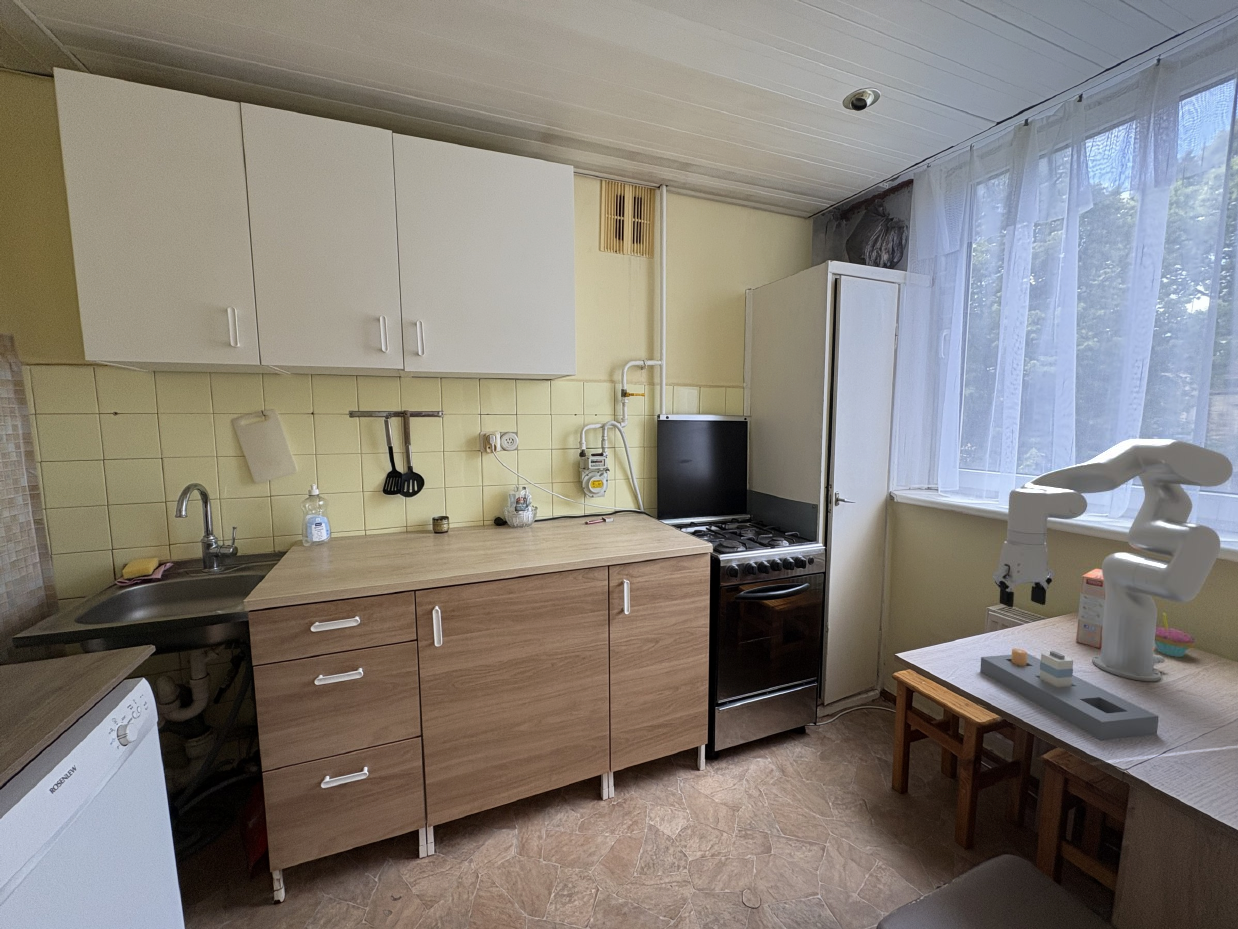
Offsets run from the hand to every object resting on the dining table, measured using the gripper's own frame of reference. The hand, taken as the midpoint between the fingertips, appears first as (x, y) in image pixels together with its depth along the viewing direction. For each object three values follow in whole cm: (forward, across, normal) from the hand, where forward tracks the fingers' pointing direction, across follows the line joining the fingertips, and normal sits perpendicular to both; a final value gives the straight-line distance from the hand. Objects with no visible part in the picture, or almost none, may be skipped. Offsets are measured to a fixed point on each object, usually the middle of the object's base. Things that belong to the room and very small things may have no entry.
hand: (1022, 604), depth 121 cm
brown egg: (+19, 0, 0) cm, 19 cm away
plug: (+20, 0, +9) cm, 22 cm away
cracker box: (+21, -45, -16) cm, 52 cm away
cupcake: (+21, -57, -6) cm, 61 cm away
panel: (+20, 0, +10) cm, 22 cm away
